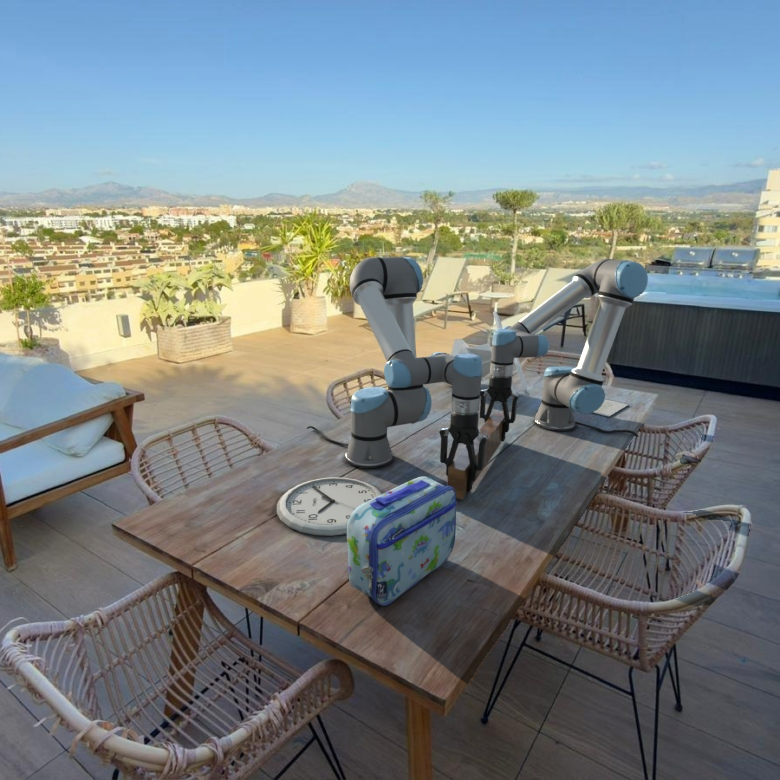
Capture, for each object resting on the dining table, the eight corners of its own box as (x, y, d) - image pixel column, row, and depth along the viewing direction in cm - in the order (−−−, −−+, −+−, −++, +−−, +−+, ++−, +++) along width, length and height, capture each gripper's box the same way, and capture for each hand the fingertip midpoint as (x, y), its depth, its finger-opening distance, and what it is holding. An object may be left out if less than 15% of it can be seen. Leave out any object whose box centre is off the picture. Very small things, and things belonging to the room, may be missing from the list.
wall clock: (392, 527, 129) (268, 531, 127) (391, 533, 130) (269, 537, 127) (383, 473, 158) (282, 475, 155) (383, 478, 158) (282, 480, 156)
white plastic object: (461, 429, 252) (437, 405, 227) (444, 352, 274) (420, 323, 250) (535, 404, 240) (518, 377, 215) (510, 326, 262) (492, 293, 237)
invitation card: (608, 416, 214) (573, 407, 224) (608, 416, 214) (573, 408, 224) (628, 404, 229) (594, 396, 238) (628, 405, 229) (594, 397, 238)
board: (492, 434, 190) (494, 411, 187) (505, 436, 188) (507, 413, 185) (446, 496, 146) (448, 467, 143) (462, 499, 144) (464, 470, 141)
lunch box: (376, 619, 101) (377, 524, 95) (340, 592, 109) (339, 502, 102) (459, 562, 119) (465, 479, 113) (424, 542, 126) (427, 463, 120)
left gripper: (429, 410, 142) (426, 487, 149) (493, 420, 135) (487, 501, 142) (438, 402, 149) (435, 476, 156) (500, 411, 142) (494, 489, 149)
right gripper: (472, 374, 178) (468, 437, 185) (525, 381, 171) (518, 447, 178) (478, 369, 184) (474, 430, 191) (529, 375, 177) (522, 439, 184)
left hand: (460, 488), depth 149 cm, fingers closed on board, 5 cm apart
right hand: (495, 438), depth 184 cm, fingers closed on board, 5 cm apart
